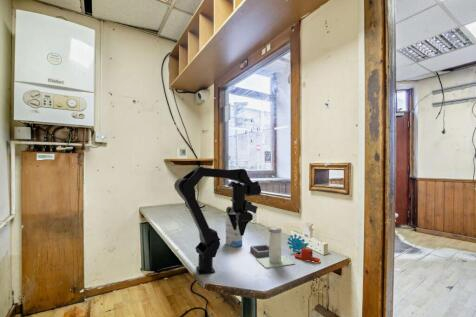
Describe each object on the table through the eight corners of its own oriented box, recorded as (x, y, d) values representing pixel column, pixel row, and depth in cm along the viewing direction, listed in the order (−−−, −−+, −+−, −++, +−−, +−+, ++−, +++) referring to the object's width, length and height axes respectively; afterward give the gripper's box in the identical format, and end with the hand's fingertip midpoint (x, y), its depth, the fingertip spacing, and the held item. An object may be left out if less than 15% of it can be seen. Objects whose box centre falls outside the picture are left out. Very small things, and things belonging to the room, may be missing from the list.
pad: (295, 264, 101) (295, 263, 101) (265, 268, 97) (265, 267, 97) (283, 256, 111) (283, 255, 111) (256, 259, 106) (256, 258, 106)
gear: (289, 251, 112) (286, 232, 120) (285, 257, 116) (283, 238, 124) (311, 253, 114) (307, 235, 121) (306, 259, 118) (302, 240, 125)
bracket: (293, 258, 109) (293, 247, 109) (296, 255, 112) (296, 245, 112) (318, 264, 102) (318, 252, 103) (321, 261, 106) (321, 250, 106)
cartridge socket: (275, 255, 111) (275, 250, 111) (257, 257, 108) (257, 252, 108) (266, 249, 120) (266, 244, 120) (250, 251, 117) (250, 246, 117)
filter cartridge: (283, 262, 102) (283, 229, 103) (272, 264, 100) (272, 230, 101) (277, 257, 107) (277, 226, 108) (266, 259, 106) (266, 227, 106)
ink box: (242, 245, 126) (242, 217, 126) (236, 247, 122) (236, 218, 123) (231, 241, 132) (231, 215, 132) (225, 243, 128) (225, 216, 129)
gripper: (264, 199, 97) (264, 237, 97) (247, 194, 115) (247, 226, 114) (239, 200, 94) (238, 239, 93) (226, 194, 111) (225, 228, 111)
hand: (238, 232), depth 103 cm, fingers open, 9 cm apart
